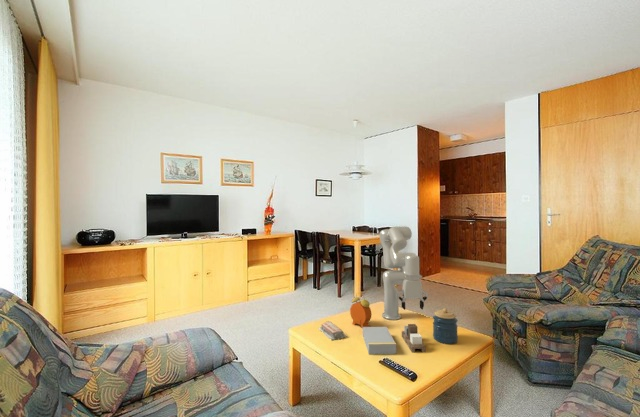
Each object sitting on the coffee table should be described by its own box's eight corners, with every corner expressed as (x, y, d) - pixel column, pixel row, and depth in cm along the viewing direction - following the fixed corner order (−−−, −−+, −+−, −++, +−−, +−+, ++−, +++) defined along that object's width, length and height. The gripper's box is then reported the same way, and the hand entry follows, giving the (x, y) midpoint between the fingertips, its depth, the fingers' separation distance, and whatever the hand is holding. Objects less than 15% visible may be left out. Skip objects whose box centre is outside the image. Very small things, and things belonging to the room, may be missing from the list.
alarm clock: (372, 327, 184) (371, 295, 184) (365, 329, 181) (365, 297, 180) (356, 321, 195) (356, 290, 195) (350, 323, 191) (349, 292, 191)
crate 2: (410, 341, 158) (410, 333, 158) (419, 341, 158) (419, 333, 158) (412, 344, 154) (412, 336, 154) (422, 344, 154) (421, 336, 154)
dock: (362, 335, 173) (362, 326, 173) (386, 335, 173) (386, 326, 173) (368, 354, 151) (368, 344, 151) (396, 354, 151) (396, 343, 151)
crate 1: (404, 332, 169) (404, 325, 169) (413, 332, 169) (413, 325, 169) (406, 335, 165) (406, 328, 165) (415, 335, 165) (415, 328, 165)
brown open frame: (401, 336, 171) (401, 318, 171) (413, 336, 171) (413, 318, 171) (411, 352, 152) (411, 332, 152) (425, 352, 152) (425, 332, 152)
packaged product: (346, 329, 171) (331, 333, 166) (346, 337, 171) (331, 341, 166) (331, 319, 187) (317, 322, 182) (332, 326, 187) (317, 329, 183)
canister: (434, 332, 175) (434, 303, 175) (458, 337, 169) (458, 306, 169) (431, 341, 164) (430, 310, 164) (456, 346, 158) (456, 314, 158)
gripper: (425, 275, 165) (425, 306, 165) (394, 276, 165) (395, 306, 165) (430, 279, 158) (430, 311, 157) (398, 279, 158) (398, 311, 157)
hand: (412, 308), depth 161 cm, fingers open, 9 cm apart
